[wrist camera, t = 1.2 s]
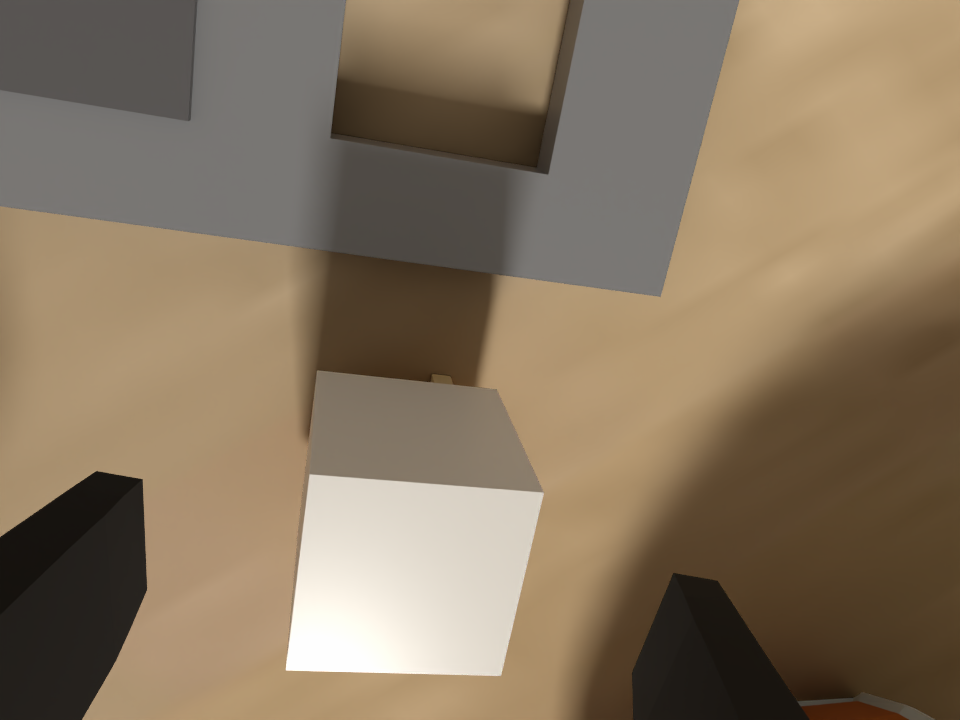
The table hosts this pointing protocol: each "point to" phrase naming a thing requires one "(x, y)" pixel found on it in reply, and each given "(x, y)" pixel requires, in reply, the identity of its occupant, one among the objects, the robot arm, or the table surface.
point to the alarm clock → (860, 709)
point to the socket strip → (351, 160)
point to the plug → (410, 529)
